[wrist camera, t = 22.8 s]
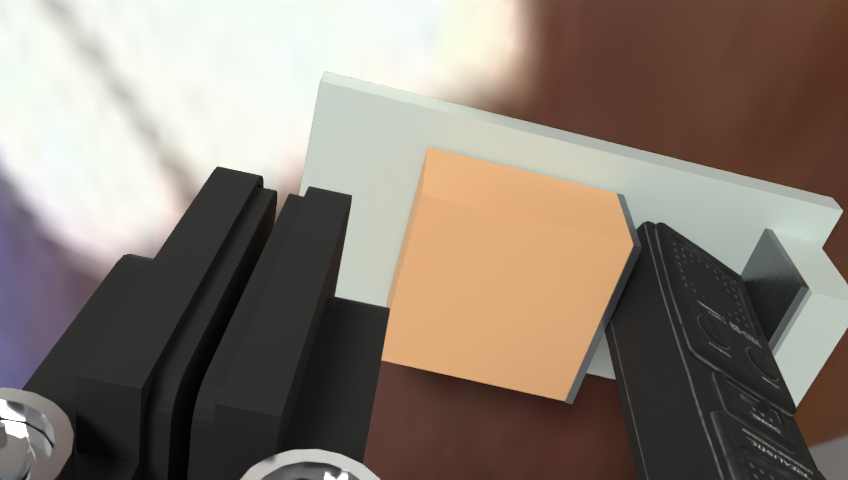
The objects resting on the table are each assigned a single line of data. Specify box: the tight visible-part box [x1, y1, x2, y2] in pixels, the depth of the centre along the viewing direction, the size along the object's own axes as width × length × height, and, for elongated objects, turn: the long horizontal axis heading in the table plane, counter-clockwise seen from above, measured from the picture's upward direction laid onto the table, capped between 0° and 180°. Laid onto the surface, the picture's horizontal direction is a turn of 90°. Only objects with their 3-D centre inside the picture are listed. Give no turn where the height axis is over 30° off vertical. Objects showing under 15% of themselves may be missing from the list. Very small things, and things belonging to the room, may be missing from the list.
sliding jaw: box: [381, 147, 642, 404], centre depth 42 cm, size 11×10×5 cm
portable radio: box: [605, 221, 826, 480], centre depth 35 cm, size 8×6×25 cm
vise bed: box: [299, 71, 848, 407], centre depth 43 cm, size 28×14×8 cm, turn 76°
